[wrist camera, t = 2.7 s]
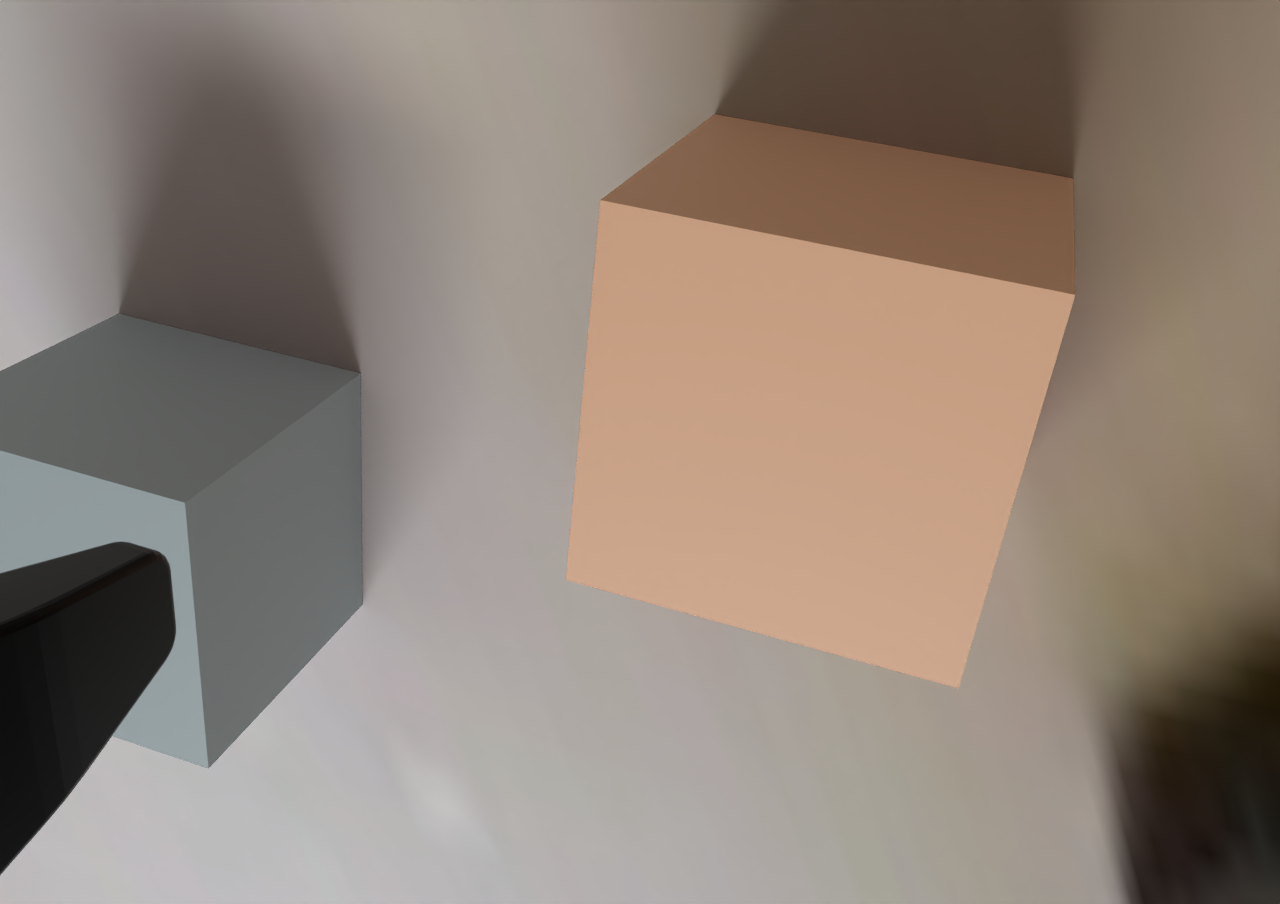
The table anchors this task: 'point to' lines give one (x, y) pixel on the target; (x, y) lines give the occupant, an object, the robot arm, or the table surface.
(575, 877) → the table surface
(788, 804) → the table surface
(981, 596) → the terracotta cube
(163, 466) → the slate grey cube
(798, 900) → the table surface
